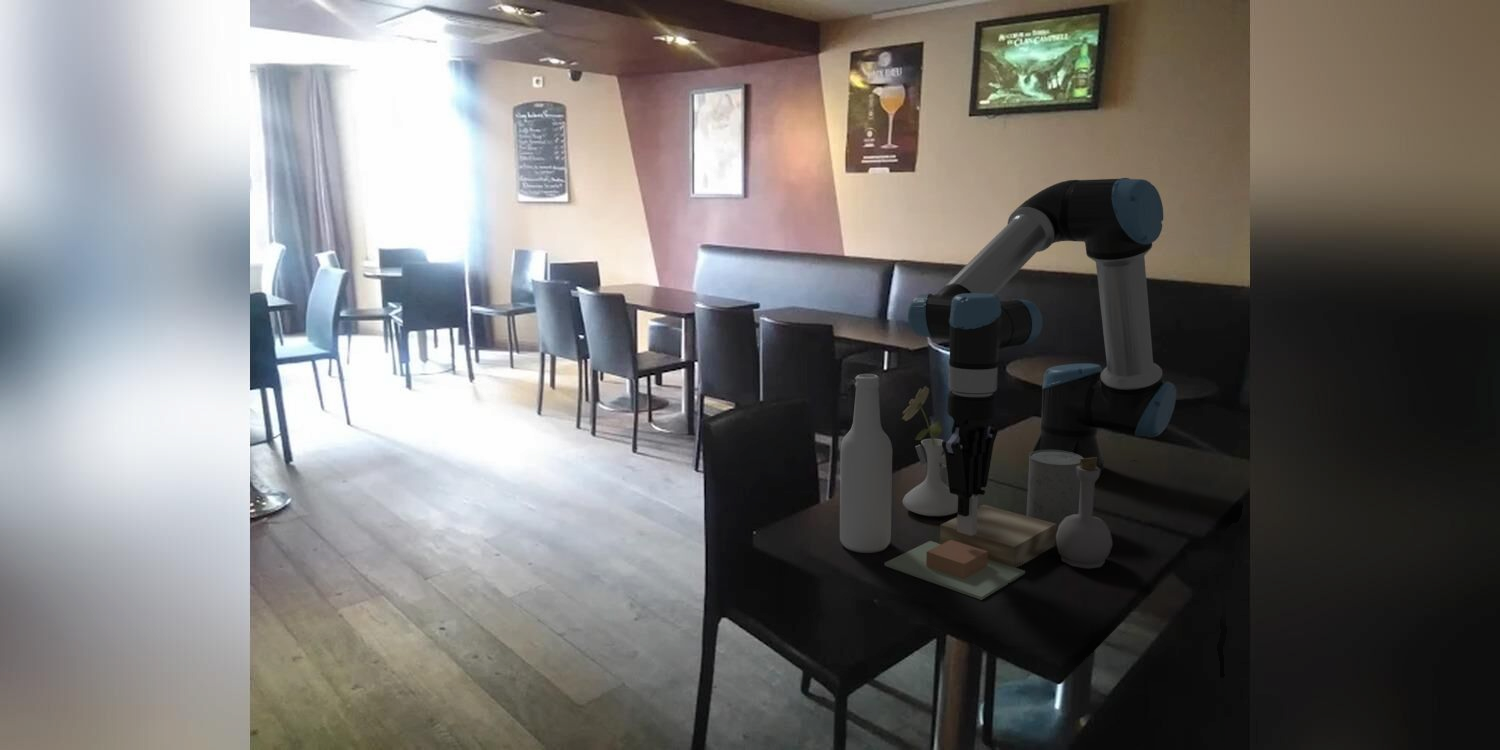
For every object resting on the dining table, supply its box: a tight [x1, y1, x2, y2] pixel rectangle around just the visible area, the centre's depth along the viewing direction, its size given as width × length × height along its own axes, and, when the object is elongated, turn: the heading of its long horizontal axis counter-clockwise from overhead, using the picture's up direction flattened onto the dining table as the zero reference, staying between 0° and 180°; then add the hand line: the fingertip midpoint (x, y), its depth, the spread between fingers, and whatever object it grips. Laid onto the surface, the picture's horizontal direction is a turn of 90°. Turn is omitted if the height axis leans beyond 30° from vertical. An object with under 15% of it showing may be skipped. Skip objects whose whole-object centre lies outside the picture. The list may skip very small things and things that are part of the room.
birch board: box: [939, 504, 1057, 568], centre depth 150 cm, size 14×14×4 cm
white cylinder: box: [1025, 450, 1084, 531], centre depth 161 cm, size 10×10×12 cm
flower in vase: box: [901, 385, 958, 517], centre depth 165 cm, size 13×11×25 cm
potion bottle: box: [1055, 457, 1113, 570], centre depth 143 cm, size 9×9×18 cm
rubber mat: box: [884, 540, 1026, 601], centre depth 142 cm, size 13×18×1 cm
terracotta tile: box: [926, 540, 988, 579], centre depth 142 cm, size 7×7×2 cm
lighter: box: [915, 443, 948, 486], centre depth 184 cm, size 7×2×8 cm, turn 42°
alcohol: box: [839, 373, 893, 554], centre depth 150 cm, size 9×9×30 cm
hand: (966, 532), depth 143 cm, fingers closed
